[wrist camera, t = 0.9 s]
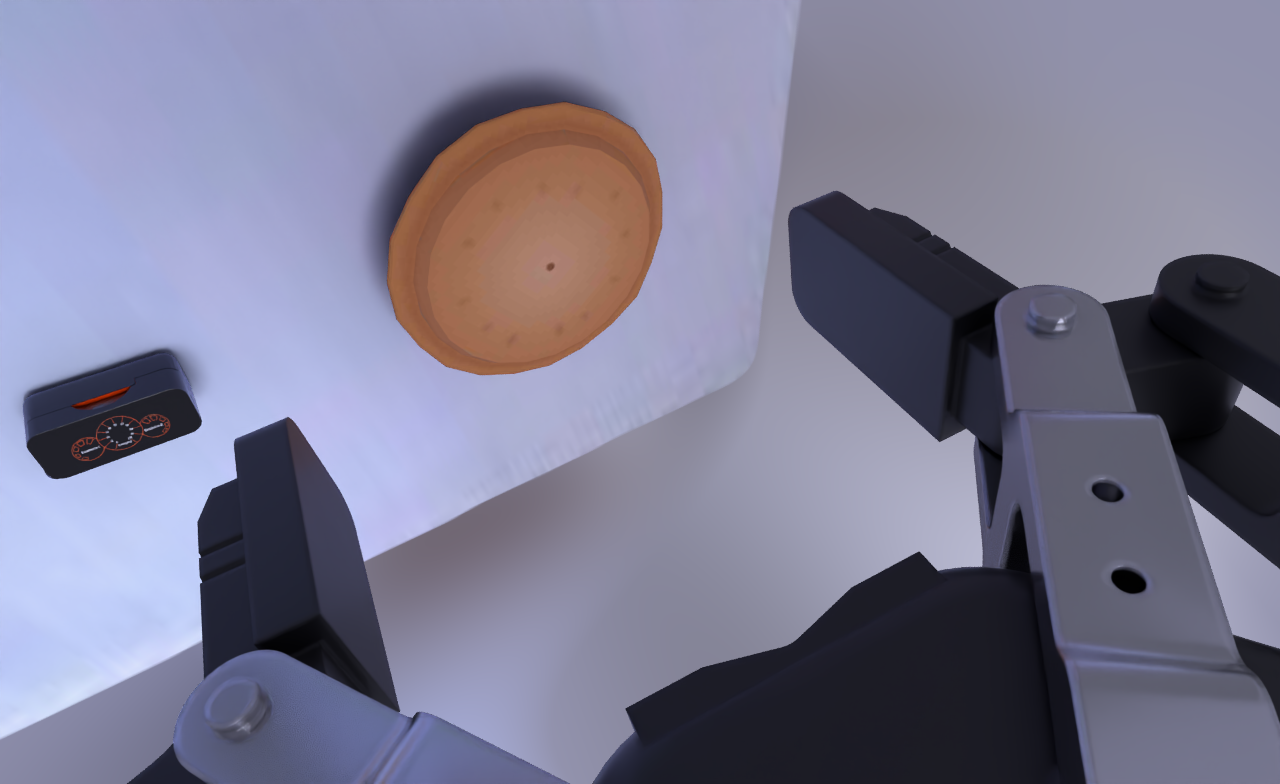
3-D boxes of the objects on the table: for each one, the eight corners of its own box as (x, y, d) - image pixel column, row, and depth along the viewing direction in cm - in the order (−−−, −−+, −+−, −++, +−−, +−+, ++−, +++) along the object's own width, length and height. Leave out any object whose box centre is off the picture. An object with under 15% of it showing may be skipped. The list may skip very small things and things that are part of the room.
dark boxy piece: (-6, 400, 35) (-2, 447, 34) (170, 343, 38) (182, 384, 36) (49, 469, 39) (54, 516, 37) (207, 413, 41) (220, 454, 39)
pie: (400, 376, 47) (432, 431, 44) (327, 119, 36) (363, 168, 33) (631, 290, 52) (674, 333, 49) (628, 45, 42) (683, 81, 39)
